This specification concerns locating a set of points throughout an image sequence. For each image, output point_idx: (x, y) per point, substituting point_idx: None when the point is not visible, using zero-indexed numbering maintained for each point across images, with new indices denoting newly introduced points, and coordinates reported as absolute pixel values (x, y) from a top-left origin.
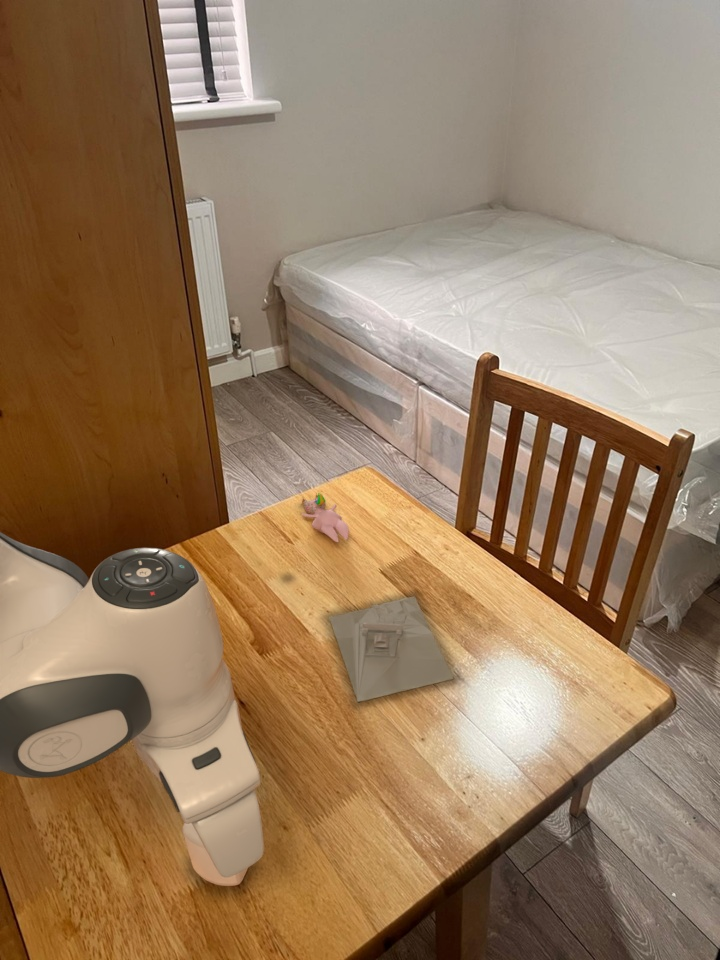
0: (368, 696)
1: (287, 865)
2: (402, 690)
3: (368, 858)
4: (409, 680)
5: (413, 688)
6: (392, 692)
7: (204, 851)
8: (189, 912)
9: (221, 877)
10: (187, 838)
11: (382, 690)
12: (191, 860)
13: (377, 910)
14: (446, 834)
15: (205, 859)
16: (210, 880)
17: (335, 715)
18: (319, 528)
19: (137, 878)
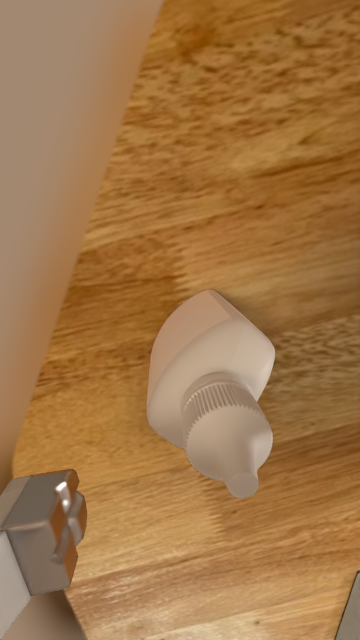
0: (358, 586)
1: None
2: (341, 625)
3: (122, 521)
4: (351, 636)
5: (336, 637)
6: (346, 614)
7: (173, 351)
8: (139, 267)
9: (158, 339)
10: (214, 325)
11: (356, 604)
12: (207, 296)
13: None
14: (117, 608)
15: (174, 337)
16: (172, 314)
17: (354, 539)
18: None
19: (234, 188)
